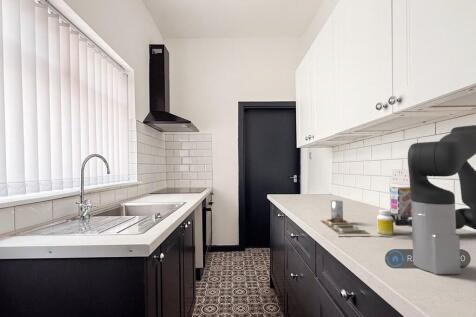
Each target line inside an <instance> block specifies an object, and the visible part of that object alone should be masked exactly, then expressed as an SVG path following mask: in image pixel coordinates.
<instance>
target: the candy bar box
mask: <svg viewBox="0 0 476 317" xmlns="http://www.w3.org/2000/svg"><path fill="white" fill-rule="evenodd" d="M389 196H390V197H389V210H391V213H405V214H412V205H411V201H412V200H411V192H410V186H390V187H389ZM395 218H396V216H395ZM393 223H395V221H393Z"/></svg>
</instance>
